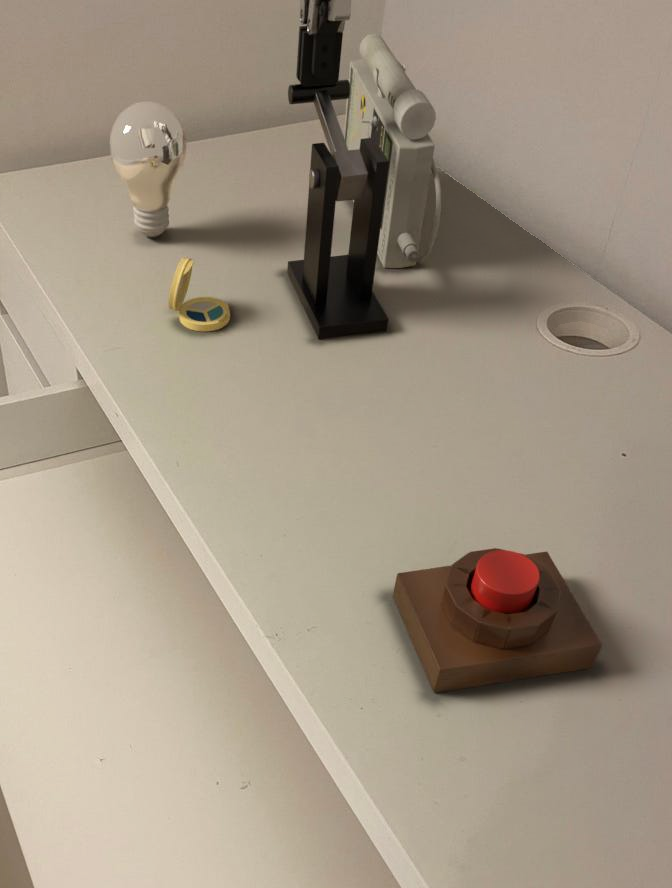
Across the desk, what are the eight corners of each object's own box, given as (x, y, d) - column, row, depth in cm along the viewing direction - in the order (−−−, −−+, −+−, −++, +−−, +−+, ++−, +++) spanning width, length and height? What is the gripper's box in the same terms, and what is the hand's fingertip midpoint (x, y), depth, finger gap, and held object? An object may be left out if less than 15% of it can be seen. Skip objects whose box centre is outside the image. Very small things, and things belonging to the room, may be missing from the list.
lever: (286, 102, 83) (289, 75, 81) (343, 96, 83) (348, 70, 81) (319, 203, 78) (323, 178, 76) (379, 197, 78) (385, 171, 76)
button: (518, 566, 60) (525, 545, 58) (542, 609, 57) (550, 589, 56) (461, 574, 59) (467, 554, 58) (483, 618, 57) (490, 598, 56)
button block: (538, 574, 64) (554, 530, 61) (592, 668, 59) (612, 624, 56) (392, 596, 63) (400, 552, 60) (433, 693, 58) (445, 650, 55)
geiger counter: (341, 23, 92) (408, 135, 75) (407, 18, 92) (489, 129, 76) (329, 173, 102) (386, 300, 86) (389, 168, 102) (456, 294, 86)
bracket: (287, 273, 89) (295, 127, 80) (350, 266, 90) (366, 120, 80) (318, 339, 82) (331, 187, 72) (386, 331, 83) (409, 179, 73)
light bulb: (153, 262, 91) (146, 127, 82) (101, 238, 94) (89, 106, 85) (203, 234, 94) (201, 101, 85) (151, 211, 97) (144, 81, 88)
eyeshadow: (222, 334, 83) (222, 280, 79) (166, 326, 84) (163, 272, 80) (235, 307, 86) (236, 254, 82) (181, 299, 87) (180, 246, 83)
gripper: (427, -186, 63) (387, 114, 77) (360, -229, 72) (336, 46, 86) (314, -180, 62) (295, 123, 76) (262, -224, 72) (253, 52, 86)
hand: (317, 81), depth 81 cm, fingers closed
